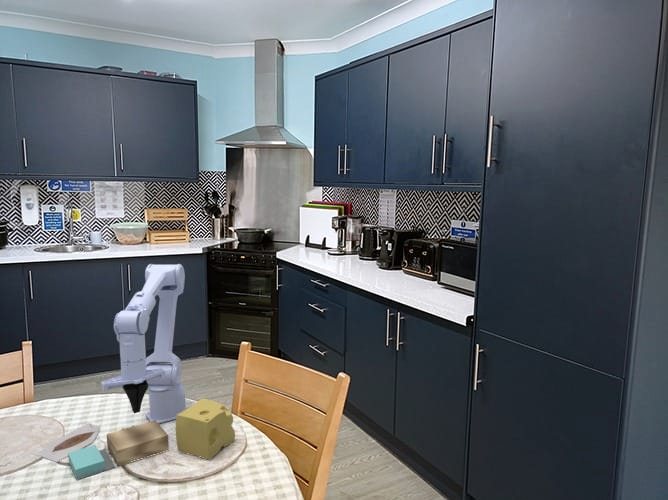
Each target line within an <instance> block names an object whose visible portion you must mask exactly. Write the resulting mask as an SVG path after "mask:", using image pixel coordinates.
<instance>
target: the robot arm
mask: <svg viewBox="0 0 668 500" xmlns="http://www.w3.org/2000/svg"><path fill="white" fill-rule="evenodd" d="M185 277H186V274H185V269H184V266H183V265H182V264H181V263H177V264H153V263H149V264H148V265H147V266H146V267H145V272H144V279H145V280H144V281H145V283H144V285H143V287H142V289H141V291H137V292H135V294H134V295H133V297H132V298H131V300H130V301H129V302H128V304H127V306H126V307H125V308H124V310H120V312H118V313H116V315H115V316H114V321H113V330H114V333H115V335H116V340H117V342H118V343H119V355H120V356H119V357H120V370H121V371H120V374H121V375H119V376H116V377H112V378H109V379H107V380H104V381H101V390H102V391H103V393H104V392H105V393H106V392H108V391H109V390H114V389H117V388H122V389H123V391H124V393H125V394H126V396H127V398H128V400H129V404H130V407H131V412H132V413H134V414H137V413H141V408H142V403H143V399H144V397H145V394H146V392H147V391H148V401H149V403H148V404H149V412H146V413H145V416H146V418H147V419H148V420H149V422H150V421H154V420H156V422H157V423H158V424H159V425H160V424H163V423H167V422H169V421H174V420H176V418H177V414H179V413H181V412H183V411H184V410H186V409H187V407H186V393H185V392H186V391H185V388H184V385H183V383H182V382H181V379H182V367H181V366H182V361H181V358H179V356H177V355H176V354H175V353H173V344H174V343H173V342H174V334H175V326H176V325H175V324H176V323H175V322H176V312H177V304H178V302H177V301H178V296H180V295H181V294H183V293H184V289H185V280H186V278H185ZM156 296H158V298H159V302H158V303H159V304H158V312H157V313H158V314H157V322H156V329H155V330H156V331H155V341H154V351H153V353H151V354H150V355H148V356H147V357H146V355H147V353H146V337H145V333H146V332H147V331H148V328H149V323H150V319H151V318H150V316H151V313H152V311H153V310H154V307H155V306H156V303H157V300H156V298H155V297H156Z"/></svg>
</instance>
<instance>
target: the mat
mask: <svg viewBox="0 0 668 500" xmlns="http://www.w3.org/2000/svg"><path fill="white" fill-rule="evenodd" d="M98 450H99V449H98ZM99 452H100V454H101V455H102V457H103V459H104V462H105V469H103V470H100V471H97V472H94V473H90V474H87V475H84V476H81V477H78V478H76V480H77V481H79V480H83V479H86V478H89V477H92V476H95V475H98V474H101V473H104V472H107V471H110V470H114V469H115V468H116V464H115V462H113V461H114V460H112V457H111V455H110V453H109V452H108V450H107V449H106V448H103V449H100V450H99Z"/></svg>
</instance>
